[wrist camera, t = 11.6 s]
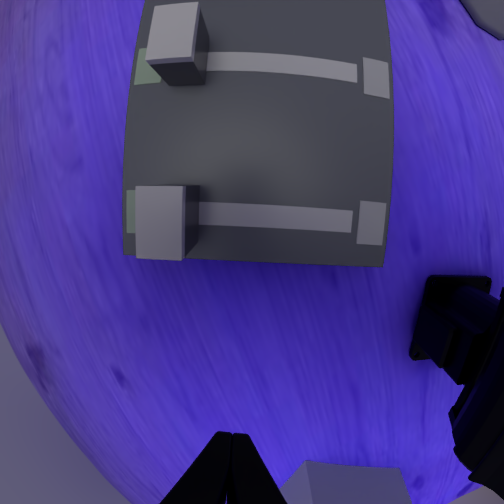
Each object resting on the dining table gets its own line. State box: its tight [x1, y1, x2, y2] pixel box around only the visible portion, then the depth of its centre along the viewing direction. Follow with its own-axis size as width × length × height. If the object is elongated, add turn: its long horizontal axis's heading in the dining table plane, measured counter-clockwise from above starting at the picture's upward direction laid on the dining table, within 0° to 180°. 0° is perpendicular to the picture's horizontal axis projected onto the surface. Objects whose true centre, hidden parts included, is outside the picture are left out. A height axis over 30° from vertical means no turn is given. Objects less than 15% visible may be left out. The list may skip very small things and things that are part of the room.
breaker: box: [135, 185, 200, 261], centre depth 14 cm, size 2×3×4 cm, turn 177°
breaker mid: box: [145, 2, 210, 86], centre depth 12 cm, size 2×3×4 cm, turn 177°
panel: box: [122, 0, 394, 267], centre depth 15 cm, size 15×22×2 cm
